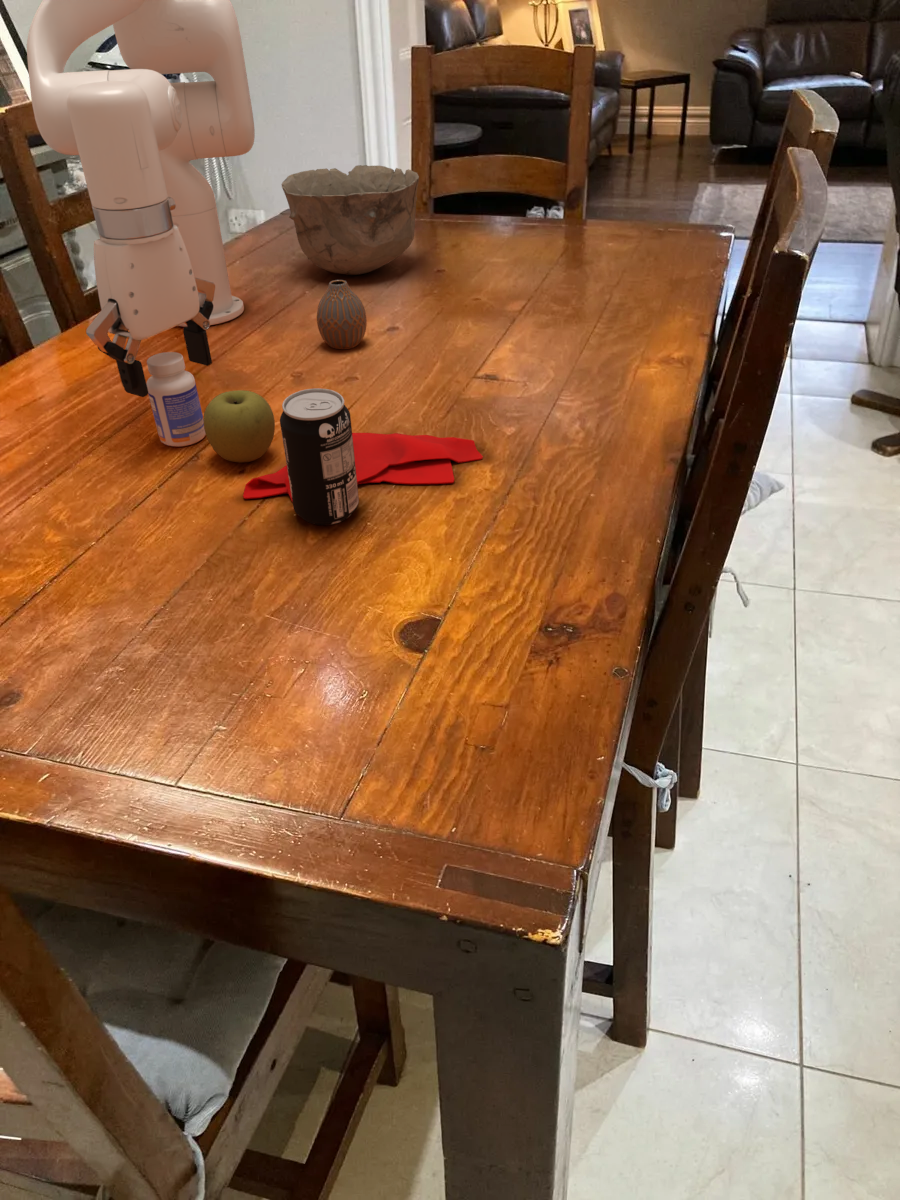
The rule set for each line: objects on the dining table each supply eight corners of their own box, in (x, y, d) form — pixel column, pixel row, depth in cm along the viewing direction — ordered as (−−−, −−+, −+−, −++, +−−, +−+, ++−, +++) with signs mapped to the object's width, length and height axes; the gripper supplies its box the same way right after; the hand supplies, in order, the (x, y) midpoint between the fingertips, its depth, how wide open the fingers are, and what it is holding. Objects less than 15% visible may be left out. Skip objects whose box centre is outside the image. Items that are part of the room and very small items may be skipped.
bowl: (445, 262, 164) (442, 169, 155) (372, 298, 149) (363, 198, 140) (346, 247, 173) (337, 159, 165) (268, 280, 159) (254, 185, 150)
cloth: (470, 426, 109) (470, 408, 108) (492, 482, 98) (492, 462, 97) (245, 449, 107) (242, 430, 105) (242, 508, 96) (238, 489, 94)
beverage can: (295, 493, 97) (279, 388, 89) (359, 489, 97) (348, 383, 89) (292, 530, 92) (275, 422, 84) (360, 526, 92) (348, 417, 84)
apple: (222, 479, 101) (210, 418, 97) (202, 451, 107) (190, 392, 102) (289, 462, 103) (279, 402, 99) (266, 435, 109) (256, 377, 105)
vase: (361, 354, 129) (355, 290, 124) (313, 352, 130) (305, 289, 125) (374, 336, 135) (368, 275, 130) (328, 335, 136) (321, 274, 131)
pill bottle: (215, 430, 111) (199, 351, 105) (190, 450, 107) (173, 369, 101) (176, 425, 112) (158, 347, 107) (150, 445, 108) (130, 364, 103)
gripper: (171, 196, 103) (201, 346, 113) (40, 237, 91) (86, 399, 102) (221, 204, 99) (247, 358, 110) (90, 247, 88) (133, 414, 98)
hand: (169, 377), depth 106 cm, fingers open, 9 cm apart
